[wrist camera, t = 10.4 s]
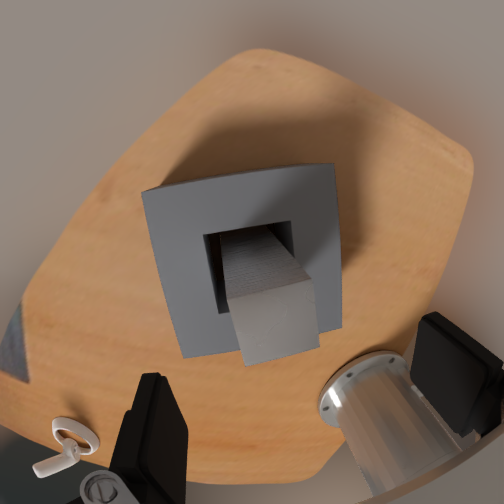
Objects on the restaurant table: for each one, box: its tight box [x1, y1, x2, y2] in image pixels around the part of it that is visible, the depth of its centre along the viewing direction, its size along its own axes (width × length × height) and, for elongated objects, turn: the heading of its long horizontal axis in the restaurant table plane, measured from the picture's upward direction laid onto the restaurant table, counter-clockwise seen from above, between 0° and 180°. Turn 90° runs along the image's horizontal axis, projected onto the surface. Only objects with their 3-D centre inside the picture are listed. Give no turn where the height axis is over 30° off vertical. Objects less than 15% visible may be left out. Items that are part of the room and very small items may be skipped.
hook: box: [33, 417, 100, 478], centre depth 25 cm, size 8×12×7 cm
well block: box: [141, 163, 342, 358], centre depth 21 cm, size 12×12×6 cm
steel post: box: [220, 224, 320, 367], centre depth 18 cm, size 4×4×13 cm
